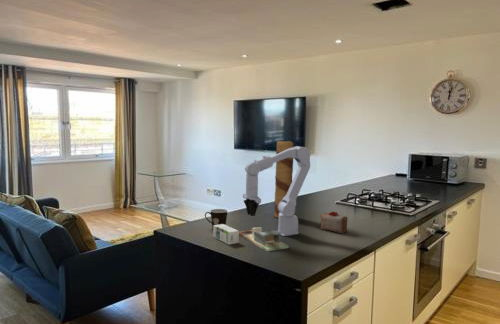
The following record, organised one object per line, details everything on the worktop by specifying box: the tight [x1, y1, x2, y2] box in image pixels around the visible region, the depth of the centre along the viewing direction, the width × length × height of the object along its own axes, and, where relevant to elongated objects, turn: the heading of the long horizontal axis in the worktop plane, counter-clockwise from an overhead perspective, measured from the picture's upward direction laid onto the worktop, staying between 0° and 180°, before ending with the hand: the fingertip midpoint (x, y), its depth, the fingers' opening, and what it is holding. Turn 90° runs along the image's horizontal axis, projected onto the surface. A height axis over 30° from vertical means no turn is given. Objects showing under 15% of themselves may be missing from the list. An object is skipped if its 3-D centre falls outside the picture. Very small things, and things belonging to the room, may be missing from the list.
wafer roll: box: [273, 140, 294, 219], centre depth 212 cm, size 10×11×45 cm
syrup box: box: [212, 224, 240, 245], centre depth 167 cm, size 6×6×14 cm
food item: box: [320, 211, 349, 234], centre depth 187 cm, size 14×8×10 cm, turn 49°
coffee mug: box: [204, 208, 229, 230], centre depth 184 cm, size 12×9×10 cm
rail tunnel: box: [239, 229, 290, 252], centre depth 167 cm, size 11×28×6 cm, turn 29°
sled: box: [251, 226, 274, 243], centre depth 166 cm, size 5×12×4 cm, turn 29°
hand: (251, 215), depth 175 cm, fingers open, 2 cm apart
